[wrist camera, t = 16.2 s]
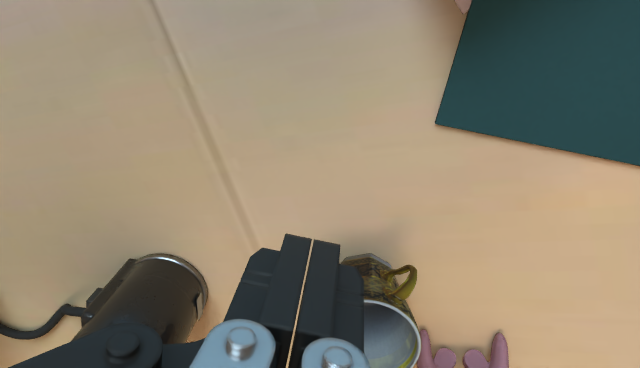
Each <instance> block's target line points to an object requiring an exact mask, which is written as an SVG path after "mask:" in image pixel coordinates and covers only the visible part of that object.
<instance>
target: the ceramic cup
mask: <svg viewBox="0 0 640 368" xmlns="http://www.w3.org/2000/svg"><path fill="white" fill-rule="evenodd" d="M341 264H344V265H349V266H354V267H357V269H358V271H359V273H360V274H361V276H362V278H363V279H364V354H365V356H366V357H367V359H368V361H369V364H370V368H412V367H413V366H414V365H415V363H416V362H417V360H418V358H419V355H420V351H421V337H420V333H419V330H418V327H417V324H416V322H415V319H414V317H413V314H412V312H411V310H410V308H409V306H408V304H407V302H406V300H405V299H406V298H408V297H409V295H410V294H411V292H412V291H413V289H414V287H415V284H416V280H417V270H416V268H415V267H413V266H412V265H406V266H403V267H401V268H399V269H394V270H392V267H391V265H390V264H389V263H387V262H385V261H384V260H382V259H380V258H378V257H377V256H375V255H373V254H371V253H369V254H363V255H357V256H351V257H347V258H345V259H344V260H343V262H342V263H341ZM408 271H410V274H409V275H408V277H407V279H406V280H405V282H404V283H403V284H401V285H400V286H399V285H398V283H397V281H396V278H395V275H400V274H403V273H406V272H408Z"/></svg>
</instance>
